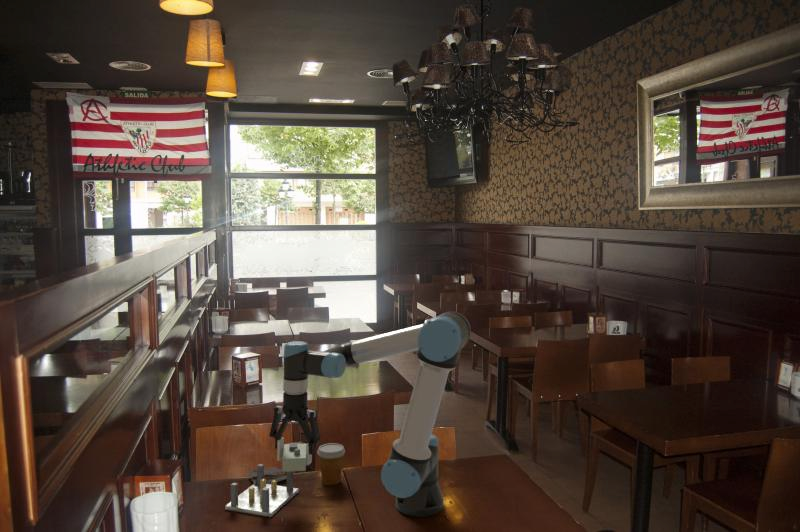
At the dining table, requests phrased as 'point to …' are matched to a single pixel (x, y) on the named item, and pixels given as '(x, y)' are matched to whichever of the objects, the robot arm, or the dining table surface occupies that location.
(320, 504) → the dining table surface
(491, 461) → the dining table surface
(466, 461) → the dining table surface
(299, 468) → the board
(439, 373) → the robot arm
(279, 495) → the chassis
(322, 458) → the disposable coffee cup
